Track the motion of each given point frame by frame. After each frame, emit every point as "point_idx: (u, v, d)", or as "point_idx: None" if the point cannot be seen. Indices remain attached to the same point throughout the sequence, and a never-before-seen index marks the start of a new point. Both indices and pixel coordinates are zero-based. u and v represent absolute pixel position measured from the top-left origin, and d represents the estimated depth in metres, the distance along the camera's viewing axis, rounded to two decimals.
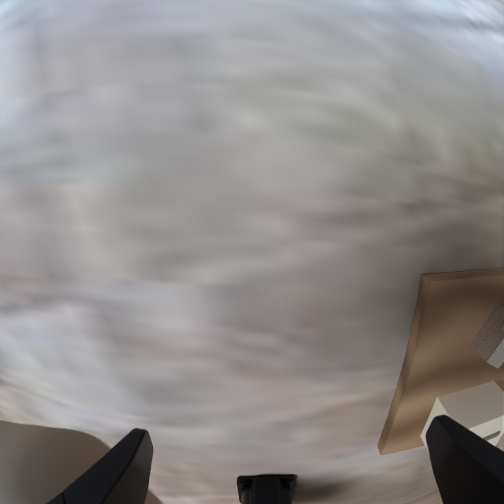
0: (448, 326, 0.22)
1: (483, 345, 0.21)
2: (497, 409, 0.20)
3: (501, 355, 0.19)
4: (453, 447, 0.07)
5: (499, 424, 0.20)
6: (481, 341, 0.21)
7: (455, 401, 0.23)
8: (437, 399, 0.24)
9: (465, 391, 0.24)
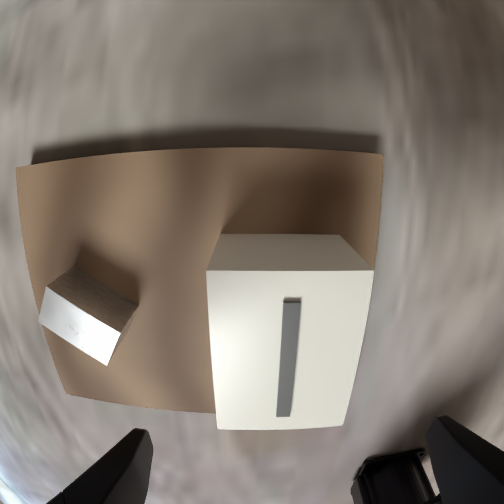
0: (104, 373, 0.18)
1: None
2: None
3: (94, 335, 0.14)
4: (453, 447, 0.07)
5: (249, 319, 0.11)
6: None
7: None
8: None
9: None
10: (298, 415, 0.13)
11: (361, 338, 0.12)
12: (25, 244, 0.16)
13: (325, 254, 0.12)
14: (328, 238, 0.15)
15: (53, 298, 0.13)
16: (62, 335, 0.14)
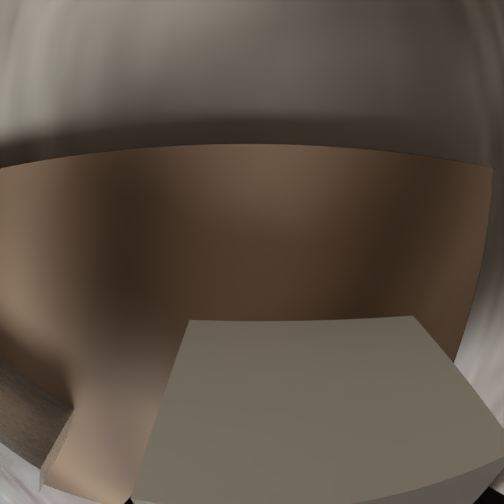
0: (53, 467, 0.10)
1: None
2: None
3: (10, 460, 0.06)
4: None
5: None
6: None
7: None
8: None
9: None
10: None
11: None
12: None
13: (414, 401, 0.05)
14: (399, 331, 0.07)
15: None
16: None
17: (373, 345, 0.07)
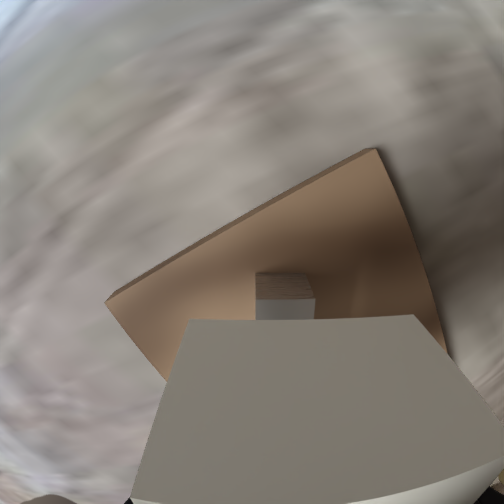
0: None
1: None
2: None
3: None
4: None
5: None
6: None
7: None
8: None
9: None
10: None
11: None
12: (293, 196, 0.15)
13: (415, 400, 0.05)
14: (400, 330, 0.07)
15: (305, 312, 0.13)
16: None
17: (374, 344, 0.07)
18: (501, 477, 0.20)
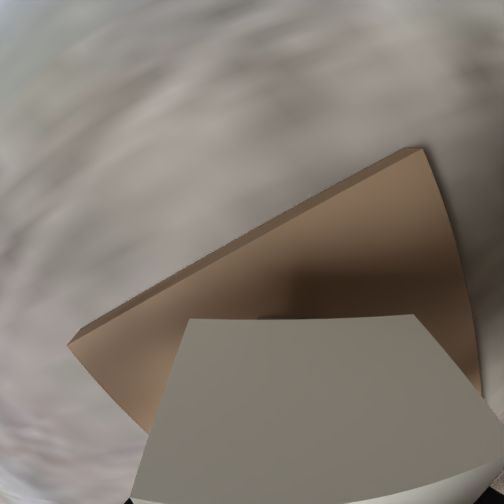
0: None
1: None
2: None
3: None
4: None
5: None
6: None
7: None
8: None
9: None
10: None
11: None
12: (311, 213, 0.10)
13: (415, 400, 0.05)
14: (400, 330, 0.07)
15: None
16: None
17: (374, 344, 0.07)
18: None
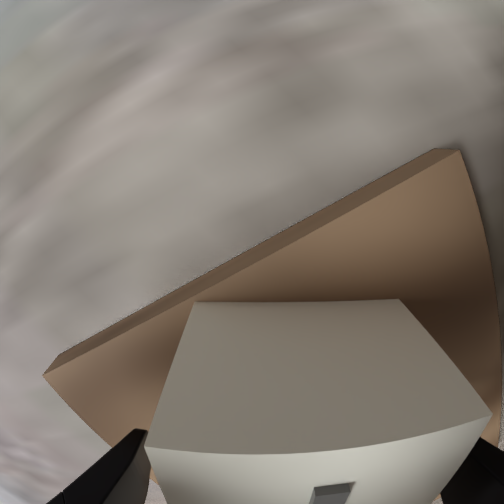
0: None
1: None
2: None
3: None
4: None
5: None
6: None
7: None
8: None
9: None
10: None
11: (435, 495, 0.05)
12: (326, 230, 0.08)
13: (396, 369, 0.06)
14: (385, 311, 0.08)
15: None
16: None
17: (360, 322, 0.07)
18: None
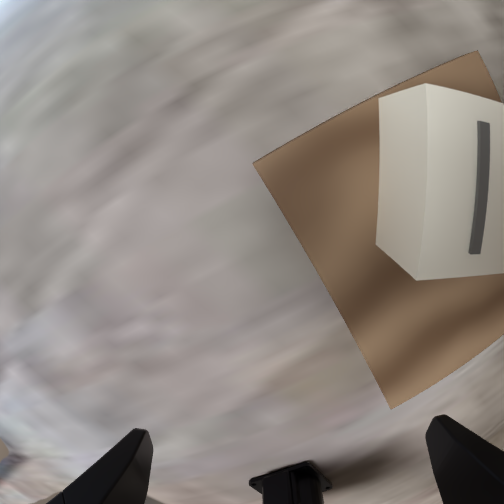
0: (340, 206, 0.16)
1: None
2: (415, 142, 0.11)
3: None
4: (453, 447, 0.07)
5: (456, 134, 0.10)
6: None
7: (386, 221, 0.15)
8: None
9: (381, 181, 0.15)
10: (483, 255, 0.12)
11: None
12: (431, 72, 0.14)
13: None
14: None
15: None
16: None
17: None
18: None
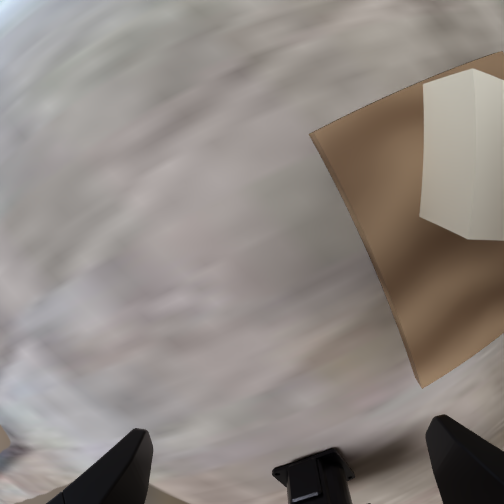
0: (390, 178, 0.16)
1: None
2: (463, 118, 0.11)
3: None
4: (453, 447, 0.07)
5: (497, 113, 0.10)
6: None
7: (432, 192, 0.15)
8: (423, 217, 0.17)
9: (425, 157, 0.15)
10: None
11: None
12: (465, 66, 0.14)
13: None
14: None
15: None
16: None
17: None
18: None
